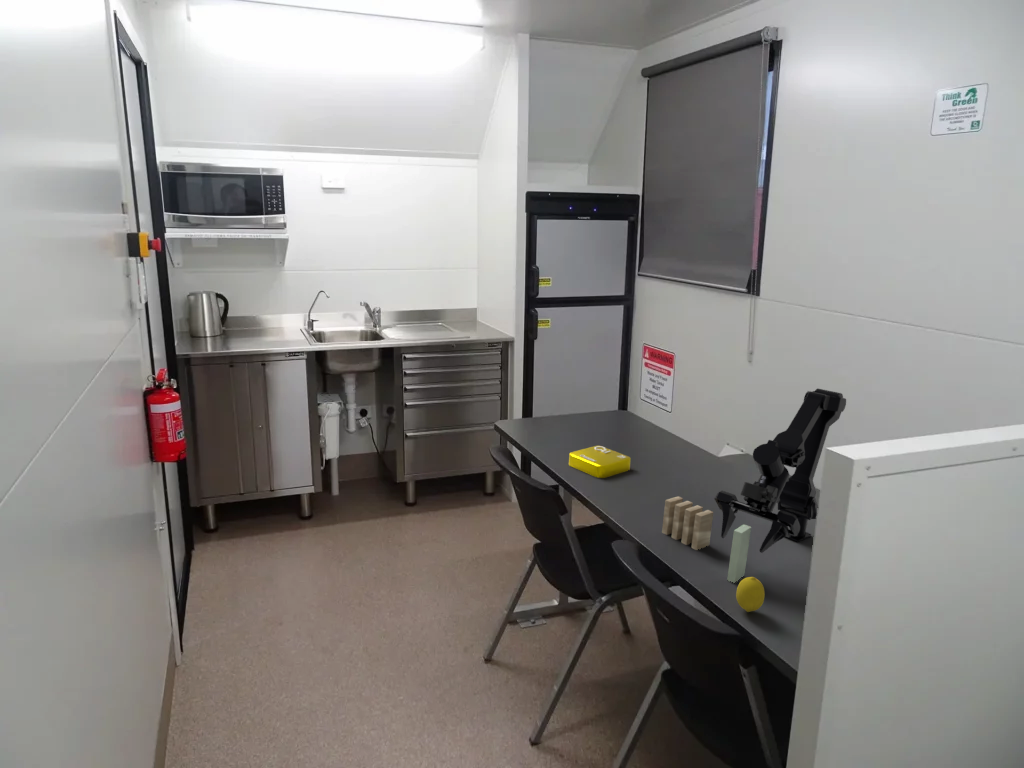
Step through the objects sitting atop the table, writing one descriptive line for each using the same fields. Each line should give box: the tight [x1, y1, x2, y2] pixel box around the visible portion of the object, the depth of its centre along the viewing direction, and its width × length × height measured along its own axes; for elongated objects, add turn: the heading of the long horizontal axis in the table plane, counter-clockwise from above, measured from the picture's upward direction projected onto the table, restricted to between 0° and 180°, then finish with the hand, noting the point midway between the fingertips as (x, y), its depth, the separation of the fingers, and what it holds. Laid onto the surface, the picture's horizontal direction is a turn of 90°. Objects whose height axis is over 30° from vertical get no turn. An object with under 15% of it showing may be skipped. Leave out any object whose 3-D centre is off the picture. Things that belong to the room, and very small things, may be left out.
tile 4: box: [661, 495, 684, 536], centre depth 181 cm, size 2×5×9 cm, turn 127°
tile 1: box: [691, 509, 714, 551], centre depth 174 cm, size 2×5×9 cm, turn 126°
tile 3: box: [671, 500, 694, 541], centre depth 179 cm, size 2×5×9 cm, turn 126°
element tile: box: [568, 444, 631, 479], centre depth 225 cm, size 15×15×5 cm
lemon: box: [735, 576, 766, 613], centre depth 146 cm, size 6×6×8 cm
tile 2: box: [680, 504, 704, 546], centre depth 176 cm, size 2×5×9 cm, turn 126°
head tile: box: [726, 523, 752, 584], centre depth 159 cm, size 2×5×12 cm, turn 137°
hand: (741, 544), depth 158 cm, fingers open, 9 cm apart
